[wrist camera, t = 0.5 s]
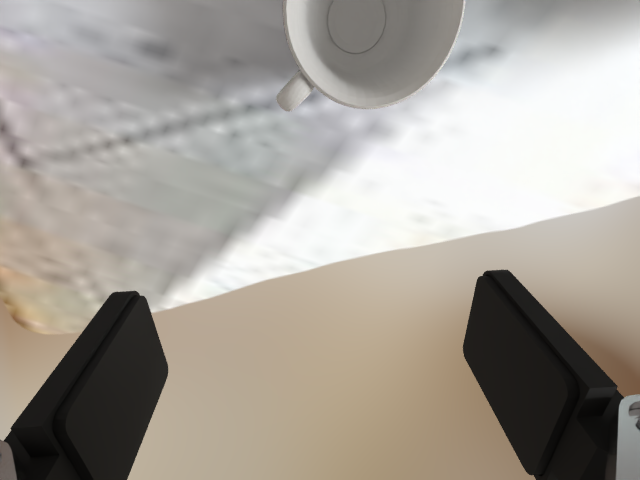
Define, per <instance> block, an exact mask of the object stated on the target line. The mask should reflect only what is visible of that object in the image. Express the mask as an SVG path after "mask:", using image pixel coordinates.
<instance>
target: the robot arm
mask: <svg viewBox="0 0 640 480" xmlns="http://www.w3.org/2000/svg"><path fill="white" fill-rule="evenodd" d="M463 353H464V357H465V359H466V361H467V363H468V365H469V367H470V368H471V370H472V372H473V374H474V376H475V377H476V380H477V381H478V383H479V385H480V387H481V389H482V391H483V392H484V395H485V396H486V398H487V400H488V402H489V404H490V406H491V407H492V410H493V411H494V413H495V415H496V417H497V419H498V421H499V423H500V425H501V426H502V428H503V430H504V432H505V434H506V436H507V438H508V439H509V441H510V443H511V445H512V447H513V449H514V451H515V452H516V454H517V456H518V458H519V460H520V462H521V464H522V466H523V467H524V469H525V470H526V472H527V473H528V474H529V475H534V477H535V478H536V480H640V395H631V396H627V397H625V398H624V397H623V396H622V395H621V394H620V393H619V392H618V390H617V385H616V384H615V383H614V382H613V381H612V380H611V379H610V378H609V377H608V376H607V375H606V373H605V372H603V370H602V369H601V368H600V367H599V366H598V365H597V364H596V363H595V362H594V361H593V360H592V359H591V357H589V355H588V354H587V353H586V352H585V351H584V350H583V349H582V348H581V347H580V346H579V345H578V344H577V343H576V341H575V340H574V339H573V338H572V337H571V336H570V335H569V334H568V333H567V332H566V331H565V330H564V329H563V328H562V327H561V325H560V324H559V323H558V322H557V321H556V320H555V319H554V318H553V317H552V316H551V315H550V314H549V313H548V312H547V311H546V309H545V308H544V307H543V306H542V305H541V304H540V303H539V302H538V301H537V300H536V299H535V298H534V297H533V296H532V295H531V293H530V292H528V290H527V289H526V288H525V287H524V286H523V285H522V284H521V283H520V282H519V281H518V280H517V279H516V277H515V276H513V274H512V273H511V272H510V271H508V270H492V271H486V272H484V274H483V276H480V277H478V279H477V283H476V287H475V292H474V297H473V301H472V307H471V311H470V316H469V320H468V325H467V330H466V335H465V339H464V344H463ZM167 376H168V364H167V362H166V358H165V356H164V352H163V349H162V346H161V343H160V340H159V337H158V334H157V331H156V327H155V324H154V321H153V318H152V315H151V312H150V309H149V306H148V303H147V300H146V298H145V297H144V296H140V295H139V293H138V292H136V291H126V292H114V293H112V294H111V295H110V296H109V298H108V299H107V300H106V302H105V303H104V304H103V306H102V307H101V308H100V310H99V311H98V312H97V314H96V315H95V316H94V318H93V319H92V320H91V322H90V323H89V324H88V326H87V327H86V328H85V330H84V331H83V332H82V334H81V335H80V336H79V338H78V339H77V340H76V342H75V343H74V344H73V346H72V347H71V348H70V350H69V351H68V352H67V354H66V355H65V356H64V358H63V359H62V360H61V362H60V363H59V364H58V366H57V367H56V368H55V370H54V371H53V372H52V374H51V375H50V376H49V378H48V379H47V380H46V382H45V383H44V384H43V386H42V387H41V388H40V390H39V391H38V392H37V394H36V395H35V396H34V398H33V399H32V400H31V402H30V403H29V404H28V406H27V407H26V408H25V410H24V411H23V412H22V414H21V415H20V416H19V418H18V419H17V420H16V422H15V423H14V424H13V426H12V427H11V432H10V433H9V435H8V436H7V437H6V439H5V440H4V441H2V440H0V480H127V478H128V476H129V473H130V471H131V468H132V466H133V463H134V461H135V458H136V455H137V453H138V450H139V447H140V445H141V443H142V440H143V437H144V435H145V432H146V430H147V427H148V424H149V422H150V420H151V417H152V414H153V412H154V410H155V407H156V405H157V402H158V399H159V397H160V394H161V392H162V389H163V387H164V384H165V382H166V379H167Z"/></svg>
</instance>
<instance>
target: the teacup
mask: <svg viewBox="0 0 640 480" xmlns="http://www.w3.org/2000/svg"><path fill="white" fill-rule="evenodd" d="M464 10H465V0H283V21H284V28H285V34H286V38H287V41H288V45H289V48H290V51H291V53H292V55H293V57H294V60H295V62H296V63H297V65H298V67H299V68H300V70H299V71H298V72H297V73H296V74H295V75H294V76H293V78H292V79H291V80H290V81H289V82H288V83H287V84H286V85H285V86H284V88H283V89H282V90H281V91H280V92H279V94H278V95H277V97H276V100H277V102H278V104H279V105H280V107H281V108H282V109H284V110H285V111H292V110H293V109H295V108H296V107H297V106H298V105H299V104H300V103H301V102H302V101H303V100H304V99H305V98H306V97H307V96H308V95H309V94H310V93H311V92H312V90H313V88H314V87H315V88H316V89H317V90H318V91H320V92H321V93H322V94H323V95H325V96H326V97H328V98H330V99H331V100H333V101H335V102H337V103H339V104H342V105H344V106H348V107H352V108H358V109H377V108H383V107H388V106H391V105H394V104H397V103H399V102H402V101H404V100H406V99H408V98H410V97H411V96H413V95H415V94H416V93H418V92H419V91H420V90H421V89H423V88H424V87H425V86H426V85H427V84H428V83H429V82H430V81H431V80H432V79H433V78H434V77H435V76H436V75H437V74H438V72H439V71H440V70H441V68H442V67H443V65H444V64H445V62H446V61H447V59H448V57H449V56H450V54H451V52H452V49H453V47H454V45H455V43H456V40H457V38H458V35H459V32H460V29H461V25H462V21H463V16H464Z"/></svg>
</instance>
